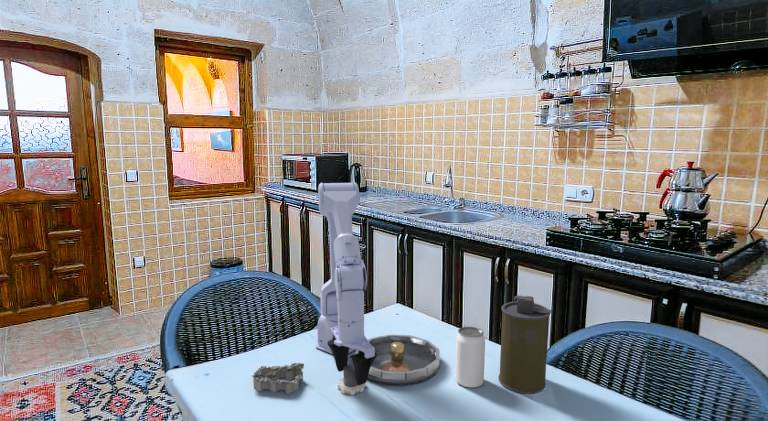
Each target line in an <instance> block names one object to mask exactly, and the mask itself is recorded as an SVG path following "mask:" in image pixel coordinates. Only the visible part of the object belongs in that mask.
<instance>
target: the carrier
mask: <svg viewBox="0 0 768 421" xmlns="http://www.w3.org/2000/svg"><path fill="white" fill-rule="evenodd" d="M367 340H368V341H369V343H370V344H371V345H372V346H373V347H375V352H376V353H377V357H376V358H375V360H374V361H373V363H372V365H371V367H370V370H369V374H368V377H367V381H371V382H373V383H376V384H381V385H387V386H394V387H395V386H396V387H397V386H398V387H401V386H412V385H418V384H420V383H424V382H426V381H428V380H430V379H432V378H434V377H435V376H436V374H437V373H438V372H439V370H440V366H441V365H440V360H441V358H440V356H441V354H440V351H441V350H440V348H439V347H437V346H436V345H434V344H433V343H432V342H431V341H430V340H428V339H424V338H421V337H418V336H415V335H411V334H410V335H409V334H406V335H405V334H384V335H381V336H380V335H379V336H375V337H370V338H369V339H367ZM355 354H358V350H355V352H354V355H355Z"/></svg>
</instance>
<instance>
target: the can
mask: <svg viewBox="0 0 768 421" xmlns="http://www.w3.org/2000/svg"><path fill="white" fill-rule="evenodd" d="M457 332H458V333H457V335H456V337H455V361H454V363H455V365H454V366H455V367H454V368H455V370H454V375H455V376H454V377H455V378H454V379H455V381H456V383H457V384H458V385H459V386H461V387H464V388H466V389H467V388H469V389H474V388H476V389H477V388H479V387H481V386H482V385H483V384H484V381H485V361H486V360H485V357H486V356H485V355H486V338H485V336H484V331H483V329H481V328H478V327H476V326H475V327H474V326H462V327H460V328H459V329H458V330H457Z"/></svg>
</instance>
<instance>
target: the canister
mask: <svg viewBox="0 0 768 421" xmlns="http://www.w3.org/2000/svg"><path fill="white" fill-rule="evenodd" d="M534 300H535V299H534V296H531V295H527V296H524V295H515V296H513V301H510V302H507V303H503V304H502V305H501V308H500V309H501V312H502V313H501V332H500V333H501V336H500V357H499V358H500V359H499V360H500V361H499V374H498V381H499V384H501V385H502V386H503V387H504V388H506V389H507V390H509V391H513V392H515V393H518V394H520V393H521V394H527V395H528V394H529V395H530V394H531V395H533V394H538V393H541V392H543V391H544V390H545V389H546V387H547V383H546V377H547V376H546V372H547V359H548V358H547V357H548V343H549V342H550V345H549V346H550V347H551V342H552V341H549V327H550V326H549V325H550V323H549V322H550V315H551V314H553V310H552V309H549V308H548V307H546V306H543V305H542V304H539V303H535V301H534ZM552 325H553V324H551V328H550V329H551V330H552ZM548 341H549V342H548ZM550 359H551V358H549V361H550Z"/></svg>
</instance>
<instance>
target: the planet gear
mask: <svg viewBox="0 0 768 421" xmlns="http://www.w3.org/2000/svg"><path fill="white" fill-rule="evenodd" d="M342 373H343V377H342V378H340V379H339V382H337V390H340V393H341V394H343V395H344V394H348V395H349V394H350V395H351V396H353V395H355V394H358V393H363V392H364V391H365V388H367V382H366V383H364V384H362V385H357V382H356V375H355V368H354V365H353V364H348V365H346V366H345V367H344V368H343V372H342Z"/></svg>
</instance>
